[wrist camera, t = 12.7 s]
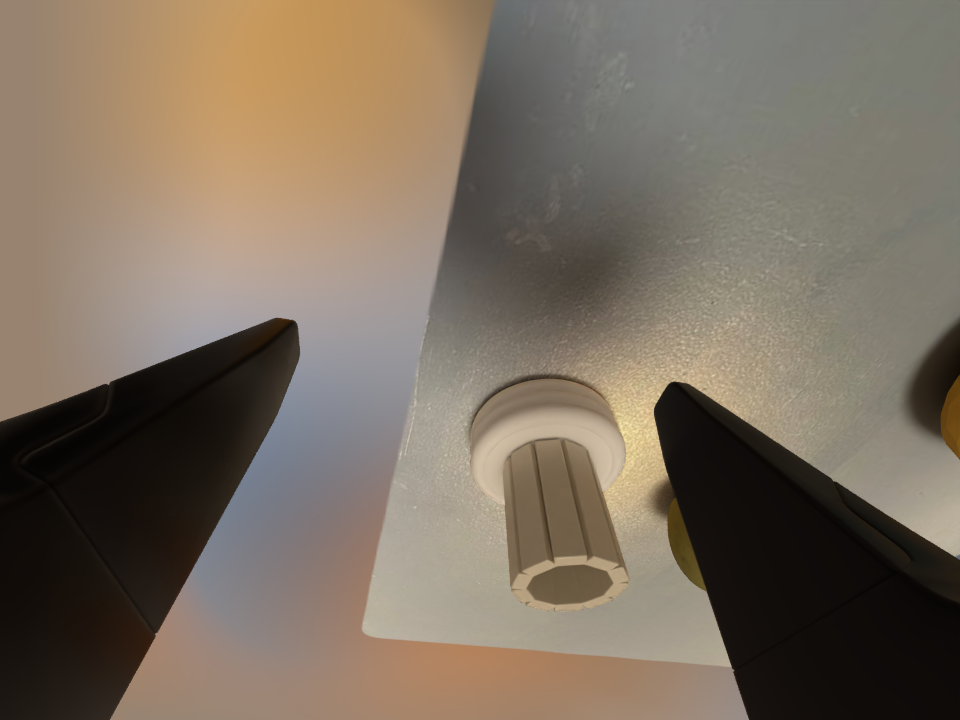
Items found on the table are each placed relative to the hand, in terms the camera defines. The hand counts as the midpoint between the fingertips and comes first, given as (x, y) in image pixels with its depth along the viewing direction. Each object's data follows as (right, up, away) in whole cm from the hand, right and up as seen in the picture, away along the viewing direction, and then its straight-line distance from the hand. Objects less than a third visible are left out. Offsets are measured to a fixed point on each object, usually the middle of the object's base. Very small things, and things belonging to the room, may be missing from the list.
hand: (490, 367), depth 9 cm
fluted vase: (+4, -7, +15) cm, 17 cm away
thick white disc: (+4, -5, +18) cm, 19 cm away
